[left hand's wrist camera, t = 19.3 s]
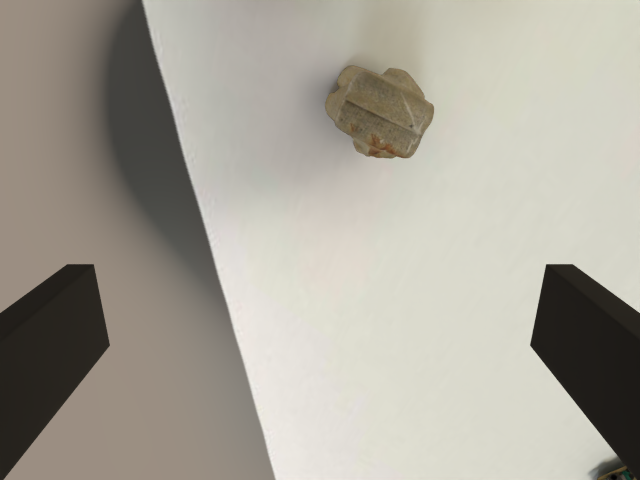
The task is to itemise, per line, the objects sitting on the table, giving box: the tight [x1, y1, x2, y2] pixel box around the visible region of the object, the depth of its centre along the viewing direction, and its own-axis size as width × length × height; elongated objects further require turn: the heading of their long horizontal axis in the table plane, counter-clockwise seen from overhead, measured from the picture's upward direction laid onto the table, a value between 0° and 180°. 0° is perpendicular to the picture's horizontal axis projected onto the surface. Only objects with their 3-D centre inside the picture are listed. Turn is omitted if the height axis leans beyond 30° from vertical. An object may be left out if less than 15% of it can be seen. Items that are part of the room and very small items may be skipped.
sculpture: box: [325, 66, 434, 158], centre depth 30 cm, size 6×7×15 cm
